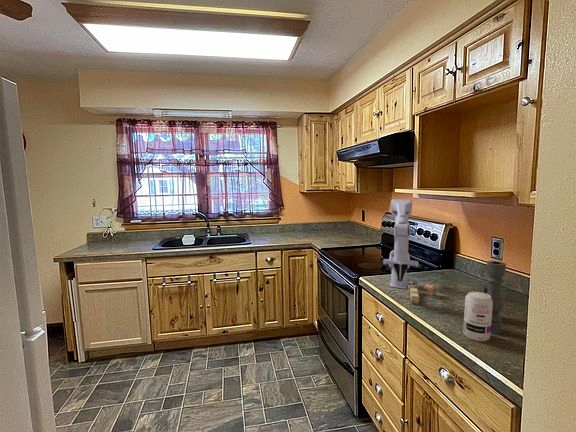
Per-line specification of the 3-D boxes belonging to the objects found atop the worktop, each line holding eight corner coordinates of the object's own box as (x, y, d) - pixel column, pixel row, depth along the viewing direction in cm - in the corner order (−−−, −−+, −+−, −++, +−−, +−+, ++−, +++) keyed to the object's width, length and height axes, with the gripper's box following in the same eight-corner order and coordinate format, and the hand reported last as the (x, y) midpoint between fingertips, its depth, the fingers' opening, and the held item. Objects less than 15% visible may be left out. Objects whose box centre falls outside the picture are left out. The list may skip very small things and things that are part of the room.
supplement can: (478, 329, 118) (480, 290, 116) (495, 341, 110) (499, 298, 108) (457, 331, 117) (460, 291, 115) (474, 343, 108) (477, 300, 107)
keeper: (423, 297, 150) (424, 286, 149) (427, 293, 154) (427, 283, 154) (430, 298, 148) (431, 287, 147) (434, 294, 152) (434, 284, 152)
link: (407, 290, 157) (408, 284, 157) (417, 291, 156) (418, 285, 156) (409, 303, 142) (409, 296, 142) (420, 304, 141) (420, 297, 140)
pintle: (409, 291, 157) (410, 280, 156) (417, 292, 155) (417, 281, 155) (408, 293, 154) (409, 282, 153) (416, 294, 152) (416, 283, 152)
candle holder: (478, 329, 118) (483, 262, 115) (485, 324, 122) (490, 259, 119) (497, 335, 114) (502, 266, 110) (504, 330, 117) (509, 263, 114)
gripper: (384, 251, 140) (383, 282, 142) (419, 253, 137) (418, 285, 138) (383, 248, 147) (382, 277, 149) (418, 250, 143) (416, 279, 145)
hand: (399, 280), depth 144 cm, fingers closed
